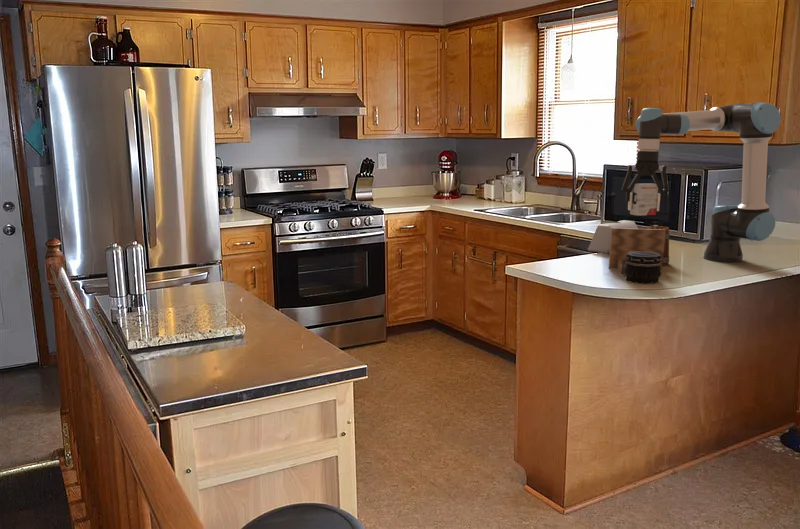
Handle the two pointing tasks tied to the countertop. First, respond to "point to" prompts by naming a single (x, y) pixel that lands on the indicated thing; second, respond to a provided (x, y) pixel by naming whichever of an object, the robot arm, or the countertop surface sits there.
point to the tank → (607, 235)
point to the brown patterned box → (634, 244)
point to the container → (643, 267)
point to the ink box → (644, 199)
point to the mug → (666, 244)
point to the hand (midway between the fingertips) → (643, 210)
